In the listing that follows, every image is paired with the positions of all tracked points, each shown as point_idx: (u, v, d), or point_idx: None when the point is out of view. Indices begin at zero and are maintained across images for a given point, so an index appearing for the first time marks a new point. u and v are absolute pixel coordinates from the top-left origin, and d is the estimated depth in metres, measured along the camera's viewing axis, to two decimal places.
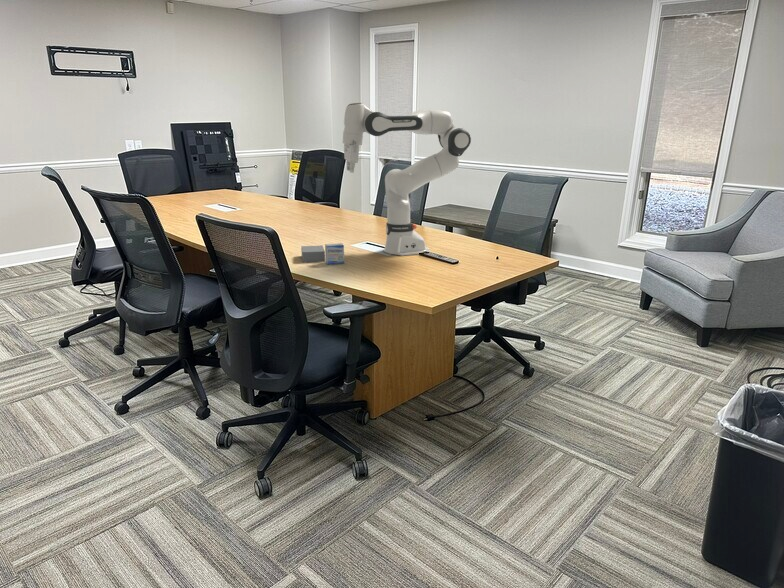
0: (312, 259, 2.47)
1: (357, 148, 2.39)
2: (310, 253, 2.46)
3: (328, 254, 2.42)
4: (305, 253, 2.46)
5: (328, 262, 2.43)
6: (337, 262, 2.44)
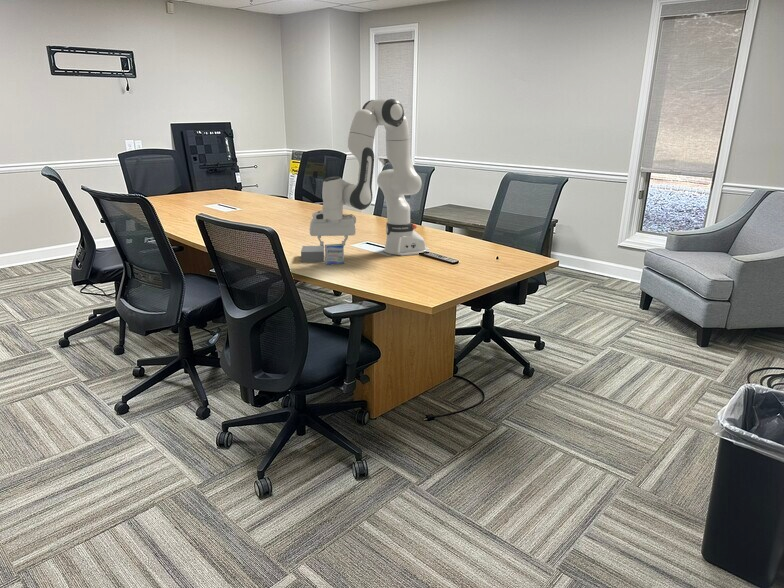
0: (311, 259, 2.47)
1: None
2: (309, 253, 2.46)
3: (328, 254, 2.42)
4: (304, 253, 2.46)
5: (328, 262, 2.43)
6: (337, 262, 2.44)
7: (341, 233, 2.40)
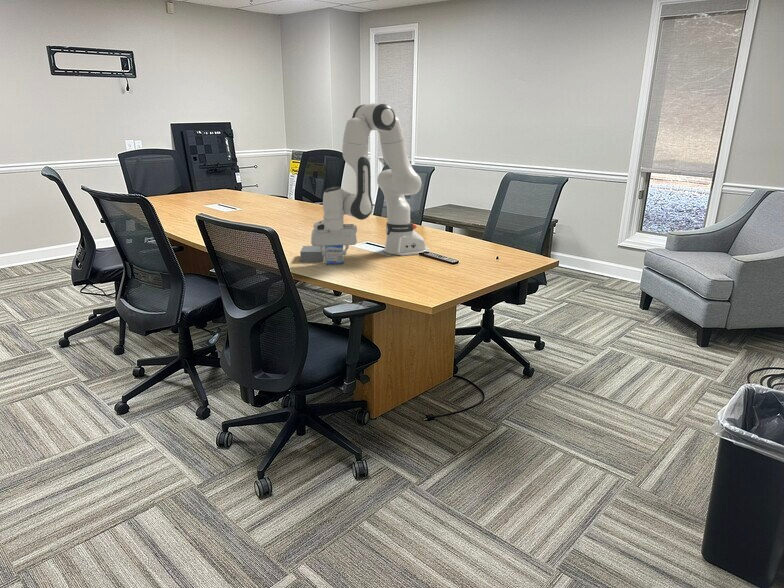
0: (310, 259, 2.47)
1: None
2: (308, 253, 2.47)
3: (327, 254, 2.42)
4: (303, 253, 2.46)
5: (327, 262, 2.43)
6: (336, 262, 2.44)
7: (342, 243, 2.42)
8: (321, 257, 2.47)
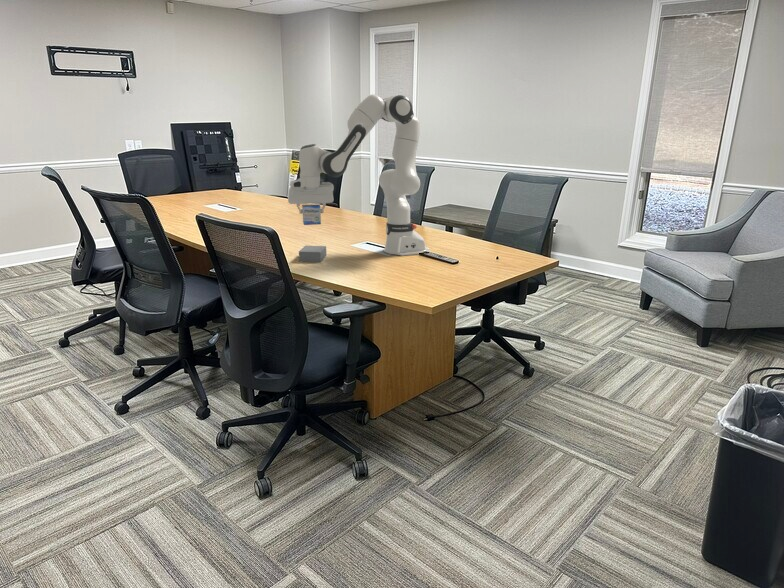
0: (308, 259, 2.48)
1: None
2: (306, 253, 2.47)
3: (304, 214, 2.44)
4: (301, 252, 2.47)
5: (305, 222, 2.45)
6: (314, 222, 2.46)
7: (319, 201, 2.44)
8: (319, 257, 2.47)
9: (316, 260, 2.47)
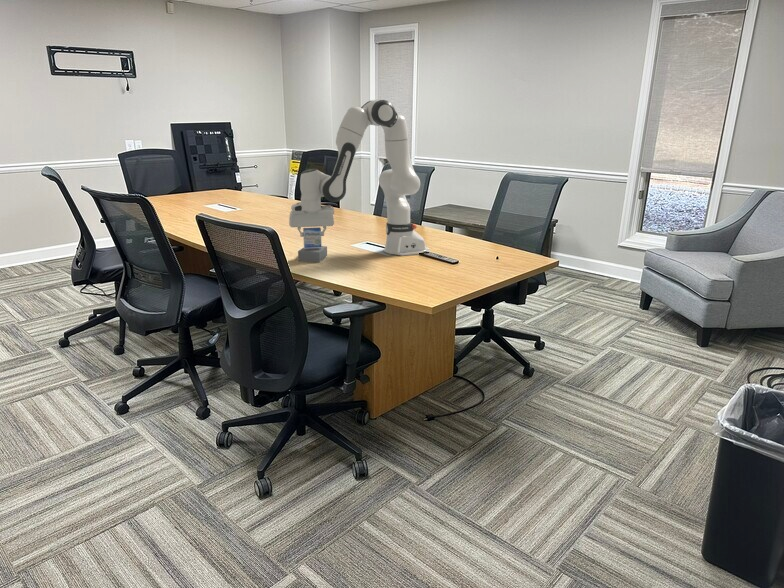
0: (307, 259, 2.48)
1: None
2: (305, 253, 2.47)
3: (305, 237, 2.47)
4: (300, 252, 2.47)
5: (305, 245, 2.48)
6: (314, 245, 2.49)
7: (320, 224, 2.48)
8: (318, 258, 2.47)
9: (315, 260, 2.47)
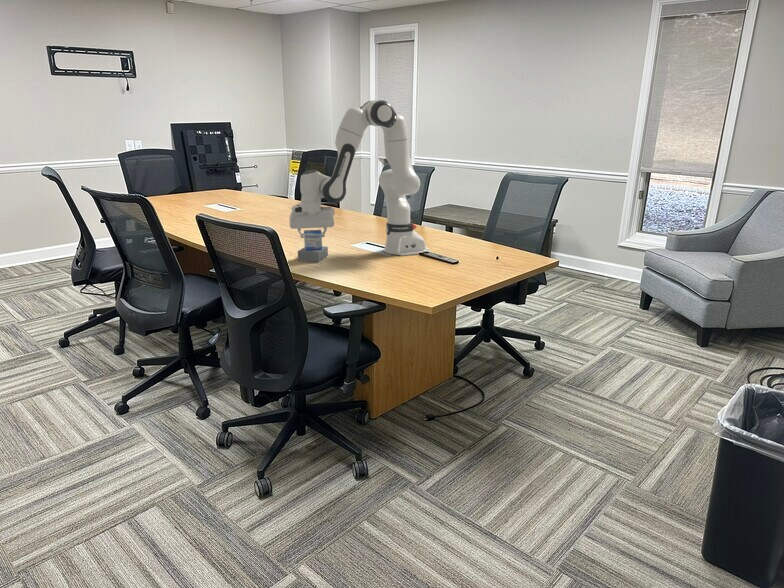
0: (307, 259, 2.48)
1: None
2: (305, 253, 2.47)
3: (306, 240, 2.48)
4: (300, 252, 2.48)
5: (306, 248, 2.49)
6: (315, 248, 2.50)
7: (320, 225, 2.48)
8: (317, 258, 2.46)
9: (314, 260, 2.47)
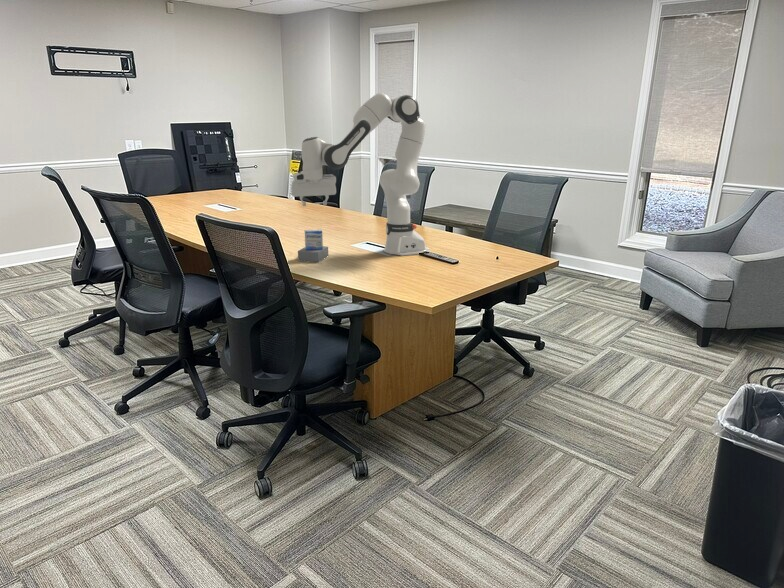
0: (307, 259, 2.48)
1: None
2: (305, 253, 2.47)
3: (307, 239, 2.48)
4: (300, 252, 2.48)
5: (307, 247, 2.49)
6: (316, 248, 2.50)
7: (322, 193, 2.47)
8: (317, 258, 2.47)
9: (314, 260, 2.47)
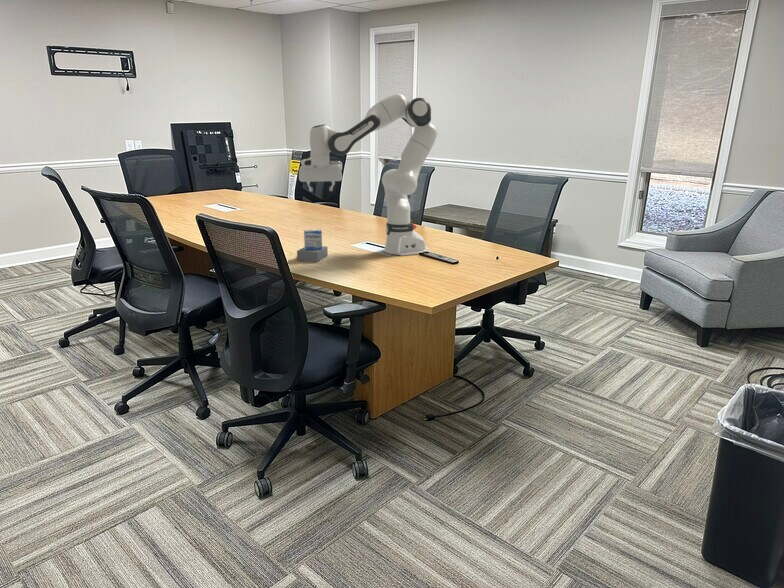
0: (306, 258, 2.48)
1: None
2: (304, 253, 2.48)
3: (306, 240, 2.48)
4: (299, 252, 2.48)
5: (306, 247, 2.49)
6: (315, 248, 2.50)
7: (328, 179, 2.56)
8: (316, 258, 2.47)
9: (313, 260, 2.48)
